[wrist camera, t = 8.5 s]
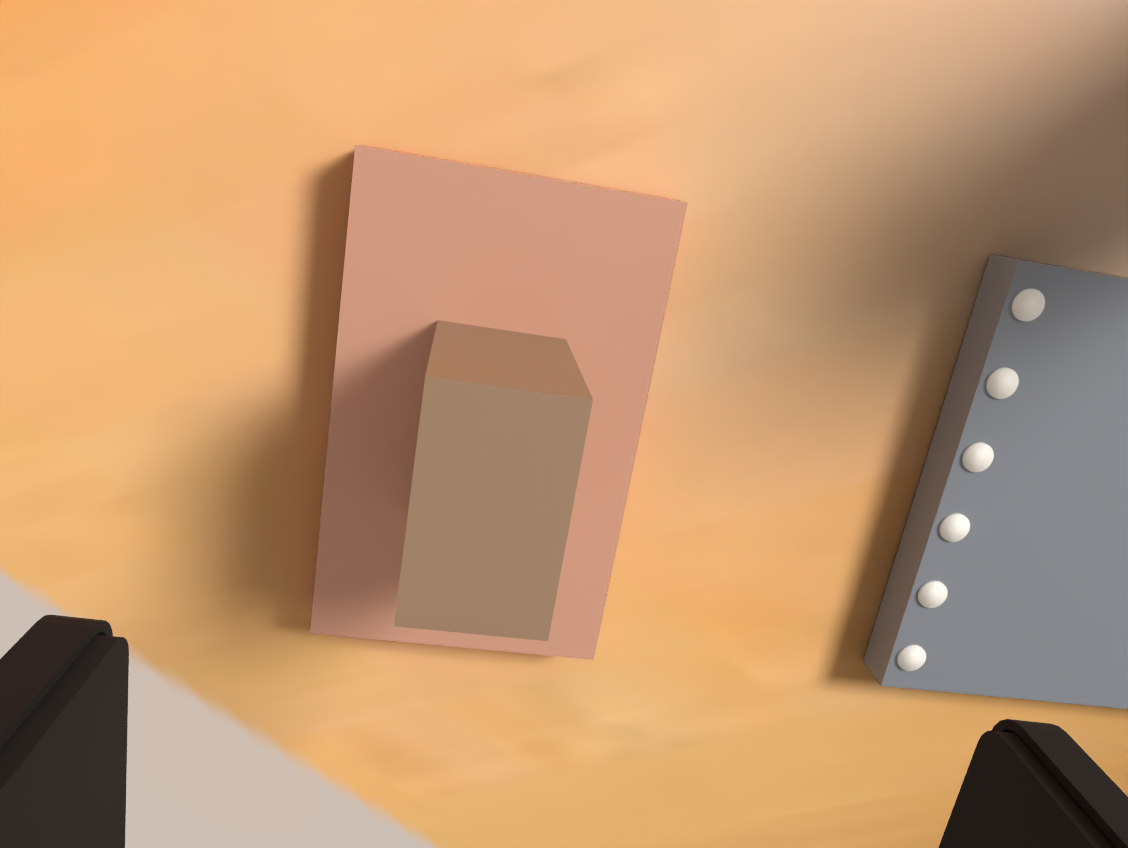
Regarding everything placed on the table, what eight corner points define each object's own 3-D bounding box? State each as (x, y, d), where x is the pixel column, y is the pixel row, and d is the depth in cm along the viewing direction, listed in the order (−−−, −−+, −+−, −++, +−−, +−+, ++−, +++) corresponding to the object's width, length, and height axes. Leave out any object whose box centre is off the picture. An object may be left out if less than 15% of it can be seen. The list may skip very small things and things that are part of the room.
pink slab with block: (676, 199, 20) (754, 222, 15) (588, 637, 24) (623, 794, 18) (361, 144, 19) (313, 146, 14) (317, 611, 23) (263, 768, 17)
